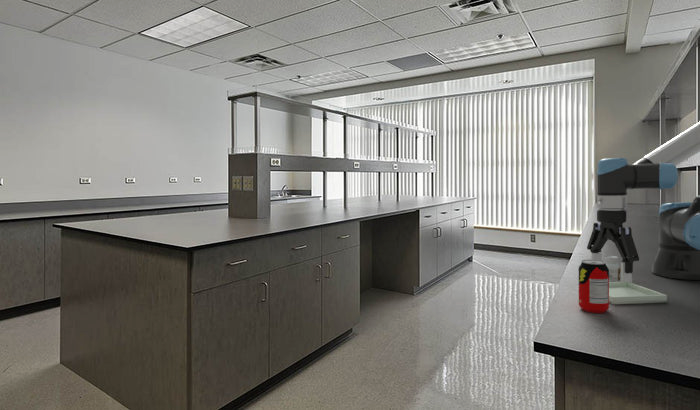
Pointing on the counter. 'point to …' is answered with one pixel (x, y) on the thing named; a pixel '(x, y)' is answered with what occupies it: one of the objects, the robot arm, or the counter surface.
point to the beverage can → (594, 286)
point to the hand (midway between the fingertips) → (610, 278)
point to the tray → (633, 294)
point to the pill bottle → (613, 268)
